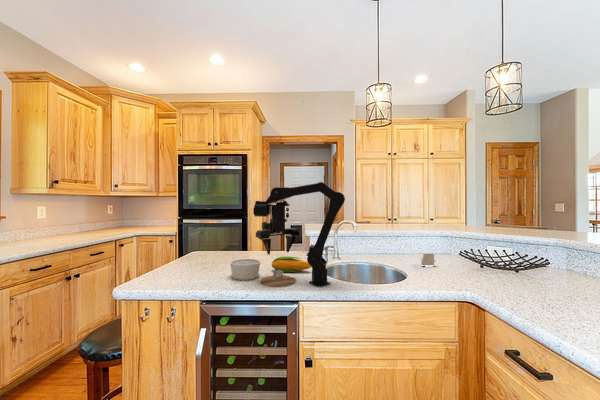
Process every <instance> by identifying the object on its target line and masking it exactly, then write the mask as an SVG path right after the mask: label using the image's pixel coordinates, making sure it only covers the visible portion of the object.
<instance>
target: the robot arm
mask: <svg viewBox="0 0 600 400" xmlns="http://www.w3.org/2000/svg"><path fill="white" fill-rule="evenodd" d="M314 193H315V194H316V193H321V194H323V195H324V196H325V197H326V198H328V199H329V202H328V203H329V205H328V210H327V213H326V217H325V219H324V221H323V224H322V227H321V230H320V232H319V234H318V237H317V239H316V242H315V244H310V246H309V247H308V249H309V250H308V252H307V254H306V257H307V258H306V261H307V262H308V263H309V265H311V280H309V282H308V283H309V284H311V285H314V286H315V287H321V286H327V285H330V284H331V282H329V281H328V269H327V268H326V267H327V264H328V261H327V260H326V259H325V258H324V257H323V255H324V251H325V250H324V249H325V245H326V242H327V240H328V237H329V235H330V232H331V230H332V226H333V224H334V222H335V220H336V217H337V215H338V212H340V209H341V208H342V206H343V205H344V203H345V202H346V201H345V200H346V197H345V195H344V194H343V192H340V191H335V190H333V189H332V188H331V187H329V186H328V185H326V184H325V183H324V182H322V181H319V182H317V183H311V184H304V185H299V186H293V187H291V186H290V187H286V186H285V187H284V186H281V187H280V186H275V187H273V188H272V189H271V191H270V195H269V196H268V198H267V199H265V201H261V200H255V202H254V206H253V210H252V211H253V215H254V217H256V218H257V217H259V218H260V217H269V216H270V215H271V218H270V219H269V223H268V221H263V222H261V229H260V230H257V231H256V232H255V238H256V239H257V238H258V239H259V240H261V241H262V243H263V245H264V247H265V248H264V249H265V251H266V253H267V255H270V254H271V245H272V241H271V240H272V239H271V238H270V237H273V236H274V237H275V236H284V237H285V238H286V246H285V247H286V248H285V249H286V253H289V252H290V249H291V248H292V246H293V244H294V241H295V240H296V239H297V238H298V236H301V230H300V229H299V228H293V227H289V228H286V223H287V222H288V220H287V219H286V207H290V206H291V205H290V203H289V202H288V201H287V199H290V198H293V197H295V196H296V197H297V196H302V195H310V194H314Z"/></svg>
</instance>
